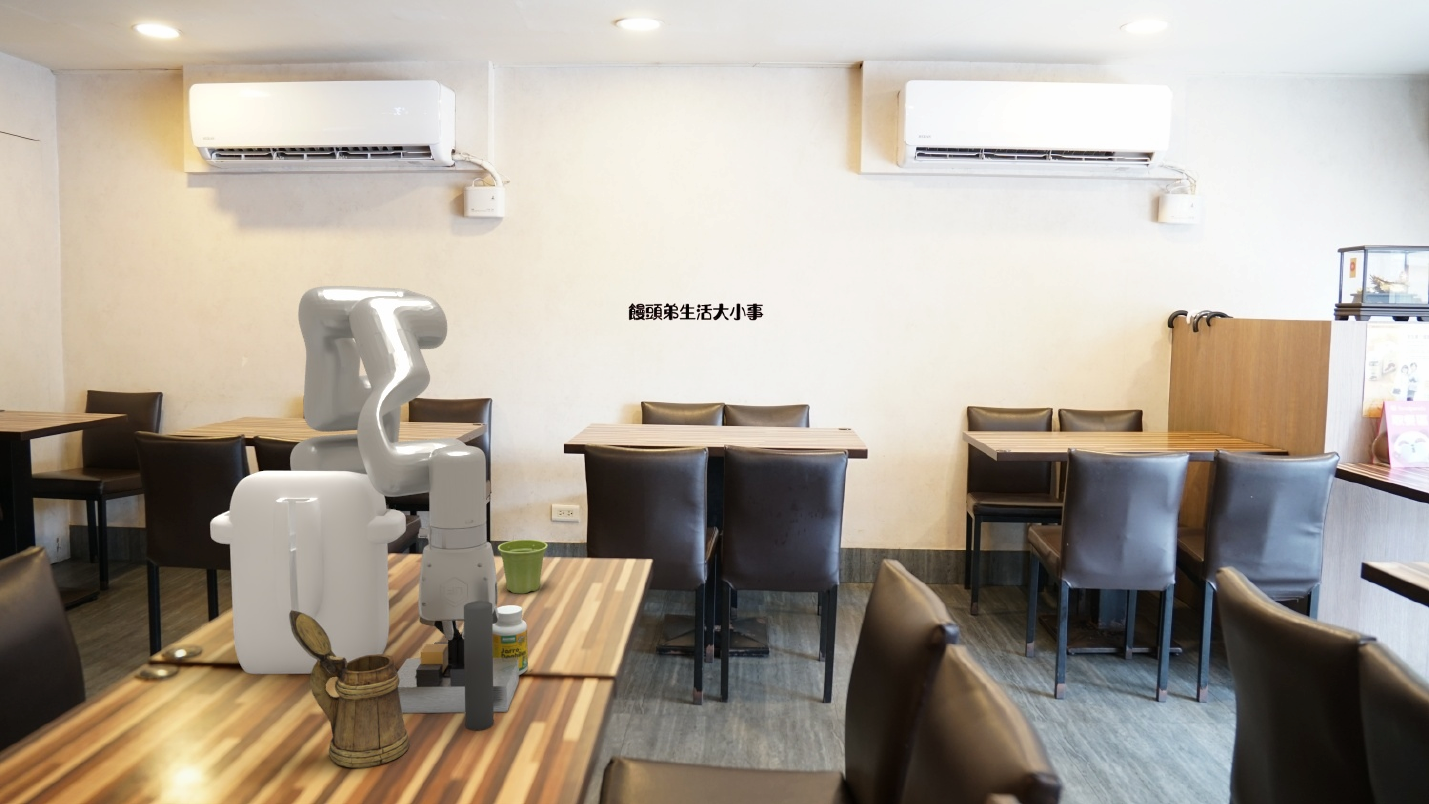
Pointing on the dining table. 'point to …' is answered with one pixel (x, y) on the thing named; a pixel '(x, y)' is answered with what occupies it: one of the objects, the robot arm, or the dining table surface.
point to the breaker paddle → (435, 654)
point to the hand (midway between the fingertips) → (460, 663)
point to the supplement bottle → (511, 636)
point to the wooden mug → (355, 699)
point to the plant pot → (522, 564)
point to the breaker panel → (451, 685)
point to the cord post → (478, 665)
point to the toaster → (307, 565)
